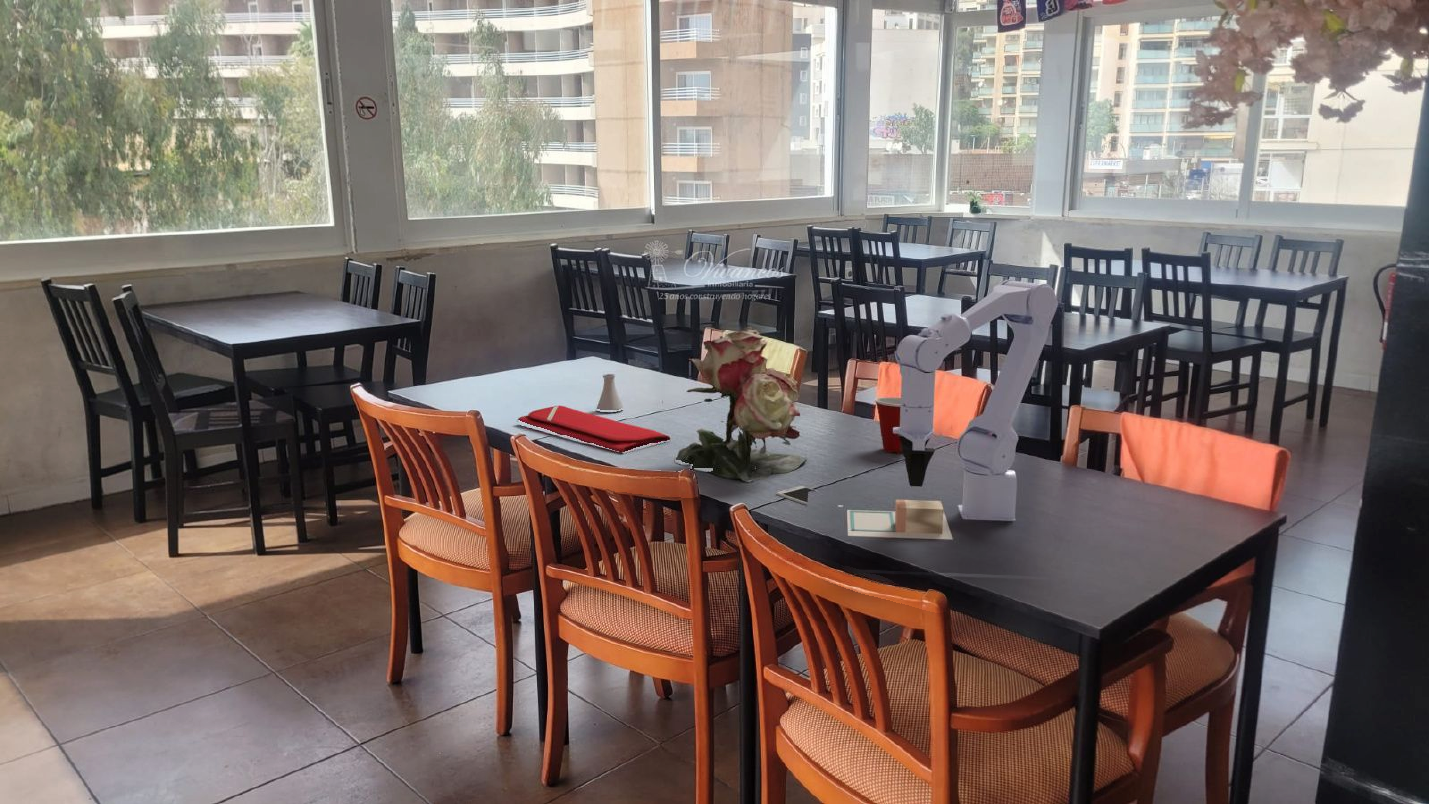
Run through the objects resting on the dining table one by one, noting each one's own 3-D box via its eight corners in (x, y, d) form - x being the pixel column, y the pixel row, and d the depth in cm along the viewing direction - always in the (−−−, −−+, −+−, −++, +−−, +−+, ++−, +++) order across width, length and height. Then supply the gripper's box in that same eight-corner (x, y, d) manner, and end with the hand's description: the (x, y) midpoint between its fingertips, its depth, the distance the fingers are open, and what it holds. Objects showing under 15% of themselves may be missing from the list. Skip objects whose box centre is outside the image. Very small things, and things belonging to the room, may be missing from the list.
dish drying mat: (621, 456, 230) (621, 441, 229) (515, 427, 257) (515, 413, 256) (671, 443, 241) (670, 428, 240) (564, 416, 268) (563, 403, 267)
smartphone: (830, 515, 188) (831, 511, 188) (775, 496, 200) (775, 491, 200) (857, 508, 193) (857, 503, 193) (801, 489, 205) (801, 485, 204)
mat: (944, 515, 187) (944, 512, 187) (952, 542, 173) (952, 538, 173) (846, 512, 189) (846, 509, 189) (847, 538, 175) (847, 535, 175)
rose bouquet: (763, 489, 204) (763, 343, 197) (662, 462, 223) (659, 329, 216) (837, 463, 222) (840, 328, 215) (737, 440, 241) (737, 316, 235)
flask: (628, 410, 274) (627, 374, 272) (612, 415, 268) (611, 378, 266) (607, 406, 278) (606, 371, 275) (591, 412, 272) (590, 375, 269)
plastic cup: (929, 449, 232) (931, 398, 230) (903, 458, 225) (905, 406, 222) (889, 441, 240) (891, 392, 237) (863, 450, 232) (865, 399, 229)
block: (939, 524, 180) (940, 501, 179) (942, 533, 176) (943, 509, 175) (894, 523, 181) (895, 499, 180) (896, 532, 177) (897, 507, 176)
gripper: (892, 395, 182) (889, 467, 185) (895, 413, 168) (893, 491, 171) (931, 396, 181) (928, 468, 184) (938, 414, 167) (935, 492, 170)
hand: (914, 479), depth 177 cm, fingers open, 7 cm apart
